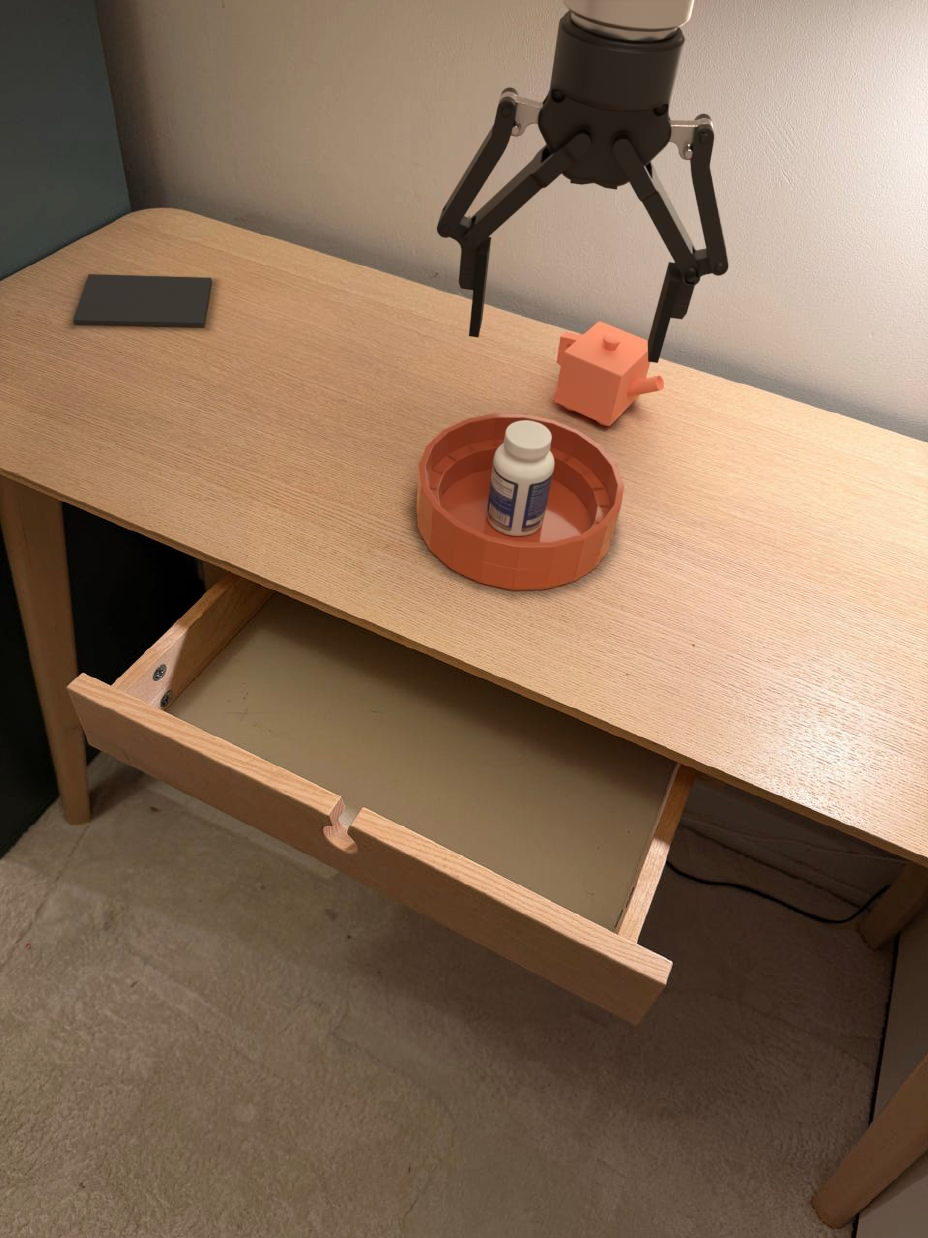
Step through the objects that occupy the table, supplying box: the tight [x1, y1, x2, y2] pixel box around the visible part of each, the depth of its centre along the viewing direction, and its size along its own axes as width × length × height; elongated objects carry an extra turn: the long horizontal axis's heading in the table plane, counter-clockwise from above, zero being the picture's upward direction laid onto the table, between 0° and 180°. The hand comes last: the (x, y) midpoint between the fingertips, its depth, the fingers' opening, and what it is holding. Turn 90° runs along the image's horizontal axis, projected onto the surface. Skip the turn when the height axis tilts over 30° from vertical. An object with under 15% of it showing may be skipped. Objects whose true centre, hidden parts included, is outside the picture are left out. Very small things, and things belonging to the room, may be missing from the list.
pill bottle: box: [487, 420, 554, 536], centre depth 81 cm, size 5×5×10 cm
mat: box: [72, 273, 213, 328], centre depth 104 cm, size 14×10×1 cm
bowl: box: [415, 413, 625, 591], centre depth 83 cm, size 18×18×6 cm
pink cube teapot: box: [553, 320, 665, 427], centre depth 95 cm, size 8×12×8 cm, turn 56°
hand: (563, 340), depth 69 cm, fingers open, 13 cm apart
